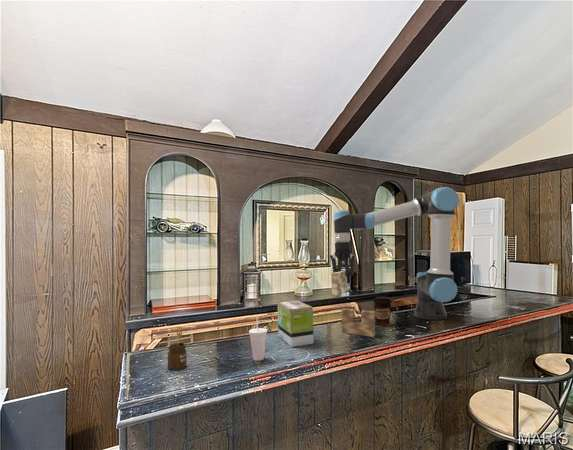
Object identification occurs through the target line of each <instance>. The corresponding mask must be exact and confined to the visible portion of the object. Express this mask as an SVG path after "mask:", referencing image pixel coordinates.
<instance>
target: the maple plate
mask: <svg viewBox="0 0 573 450" xmlns="http://www.w3.org/2000/svg"><path fill="white" fill-rule="evenodd" d="M345 277H346V270H341V271H340V272H335V273H333V272H332V273H331V295H332V296H340V295H342V293H344V294H345V293H347V292H349V290H345Z"/></svg>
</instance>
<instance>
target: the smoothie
mask: <svg viewBox="0 0 573 450" xmlns="http://www.w3.org/2000/svg"><path fill="white" fill-rule="evenodd" d="M255 323H256V328H251V329H249V330H248V335H249V337H250V345H251V352H252V359H253V361H256V362H257V361H258V362H259V361H263V360H264V359H265V353H266V351H265V350H266V341H267V334H268V329H266V328H263V327H259V316H258V317H257V316H256V321H255Z"/></svg>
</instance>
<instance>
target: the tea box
mask: <svg viewBox="0 0 573 450" xmlns="http://www.w3.org/2000/svg"><path fill="white" fill-rule="evenodd" d="M313 312H314V309H313V306H311V305H310V304H306V303H304V302H303V301H299V300H292V301H290V300H289V301H283V302H282V301H281V302H277V333H278V337H279V338H280V339H281V340H283V341H284V342H285V343H286V344H287V345H289V346H290V347H291V348H293V347H301V346H307V345H312V344H314V342H315V341H314V340H315V339H314V336H315V335H314V313H313Z"/></svg>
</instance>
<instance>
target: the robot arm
mask: <svg viewBox="0 0 573 450" xmlns="http://www.w3.org/2000/svg"><path fill="white" fill-rule="evenodd" d="M459 203H460V196H459V194H458V193H457V192H456V191H455V190H454V189H453V188H451V187H448V186H443V187H438V188H437V187H436V189H434V190H431V191H429V192H427V193H425V194H423V195H421V196H418V197H415V198H413V199H412V200H411V201H408V202H405V203H400V204H397V205H393V206H390V207H385V208H382V209H378V210H375V211H371V212H367V213H351V214H350V211H349V210H347V209H345V210H344V209H343V210H335V211H334V214H333V227H334V241H335V242H334V251H335V252H334V253H333V254H332V255H329V258H330V260H331V266H332V267H331V268H332V273H335V272H340V271H342V267H343V263H344V269H345V270H344V271H346V277H345V290H348V291H349V290H350V284H351V277H352V276H354V275H355V267H356V266H355V264H356V259H357V255H356V254H353V253H352V251H351V242H350V241H351V230H355V231H362V230H370V229H371V230H372V229H374V228H375V227H376V226H380V225H383V224H387V223H391V222H394V221H398V220H401V219H406V218H410V217H414V216H418V217H420V216H426V215H427V216H428V217H429V218H430V219H431V220H430V221H431V222H430V231H431V232H430V257H429V258H430V261H429V262H430V264H429V265H430V267H429V269H428V270H427V271H420V272H417V273H416V279H415V280H416V290H417V291H416V293H417V302H416V305H415V308H414V317H415V318H418V319H423V320H430V321H440V320H446V319H447V312H446V308H445V305H444V303H449V302H451V301H452V300H454V299H455V297H456V295H458V286H457V284H456V282H455V281H454V272H453V271H451V240H452V238H451V237H452V234H451V233H452V219H453V218H454V217H455V216H456V215H455V214H456V208H457V207H458V205H460V204H459ZM336 258H337V260H336ZM349 259H350V260H349Z"/></svg>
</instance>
